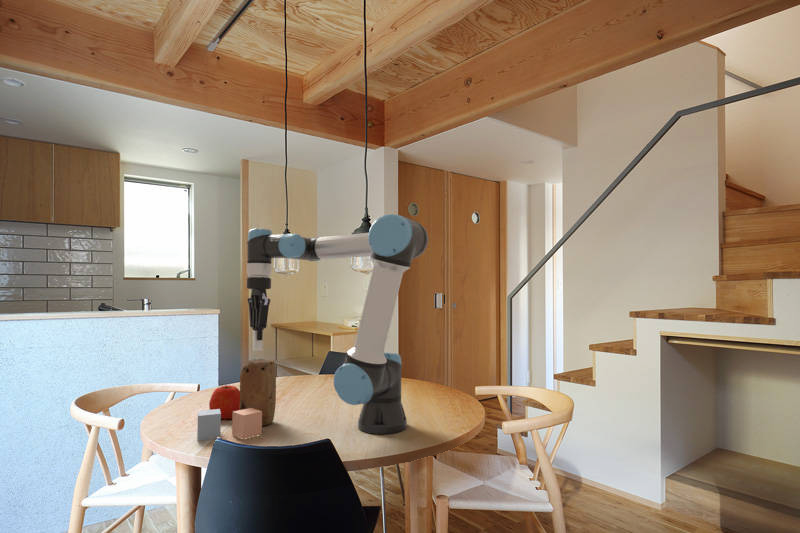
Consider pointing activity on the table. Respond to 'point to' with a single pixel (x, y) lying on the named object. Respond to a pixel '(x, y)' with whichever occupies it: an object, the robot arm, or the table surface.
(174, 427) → the table surface
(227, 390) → the apple
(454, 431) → the table surface
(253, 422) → the terracotta block
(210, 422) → the slate block
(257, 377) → the brown long irregular lump
